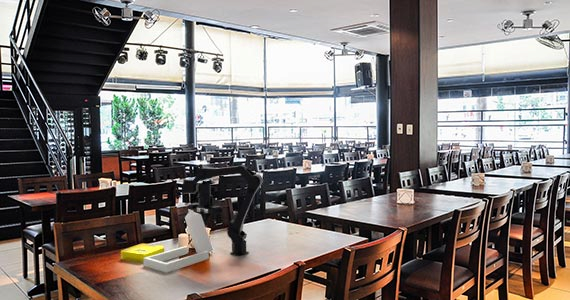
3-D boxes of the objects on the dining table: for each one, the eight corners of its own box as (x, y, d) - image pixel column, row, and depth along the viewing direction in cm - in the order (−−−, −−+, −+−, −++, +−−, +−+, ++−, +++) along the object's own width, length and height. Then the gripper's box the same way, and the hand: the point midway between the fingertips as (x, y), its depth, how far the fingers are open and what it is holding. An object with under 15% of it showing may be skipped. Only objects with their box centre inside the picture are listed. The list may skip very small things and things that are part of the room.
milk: (202, 256, 206) (187, 213, 201) (196, 253, 211) (182, 211, 206) (213, 249, 210) (199, 208, 204) (207, 247, 214) (193, 206, 209)
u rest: (208, 258, 201) (208, 251, 201) (166, 272, 183) (166, 264, 183) (186, 253, 211) (185, 246, 211) (143, 265, 193) (143, 258, 193)
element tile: (166, 254, 211) (165, 245, 210) (143, 263, 197) (143, 253, 197) (142, 251, 217) (142, 242, 217) (119, 260, 203) (118, 250, 203)
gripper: (230, 193, 210) (231, 225, 211) (204, 190, 221) (205, 220, 222) (213, 196, 201) (213, 229, 202) (186, 192, 213) (187, 224, 214)
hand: (205, 226), depth 210 cm, fingers closed
